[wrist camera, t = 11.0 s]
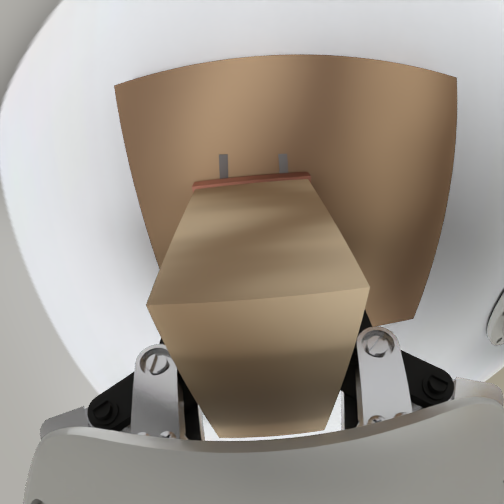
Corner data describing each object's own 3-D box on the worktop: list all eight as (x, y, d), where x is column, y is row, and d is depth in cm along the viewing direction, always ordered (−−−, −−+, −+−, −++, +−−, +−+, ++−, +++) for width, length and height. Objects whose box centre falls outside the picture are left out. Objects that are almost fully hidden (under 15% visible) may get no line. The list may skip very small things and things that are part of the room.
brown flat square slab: (436, 75, 8) (457, 77, 7) (403, 301, 15) (413, 319, 14) (130, 85, 9) (113, 85, 7) (192, 324, 16) (188, 345, 14)
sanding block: (307, 171, 9) (376, 282, 4) (304, 317, 13) (326, 430, 8) (194, 181, 9) (139, 300, 4) (224, 323, 13) (217, 438, 8)
